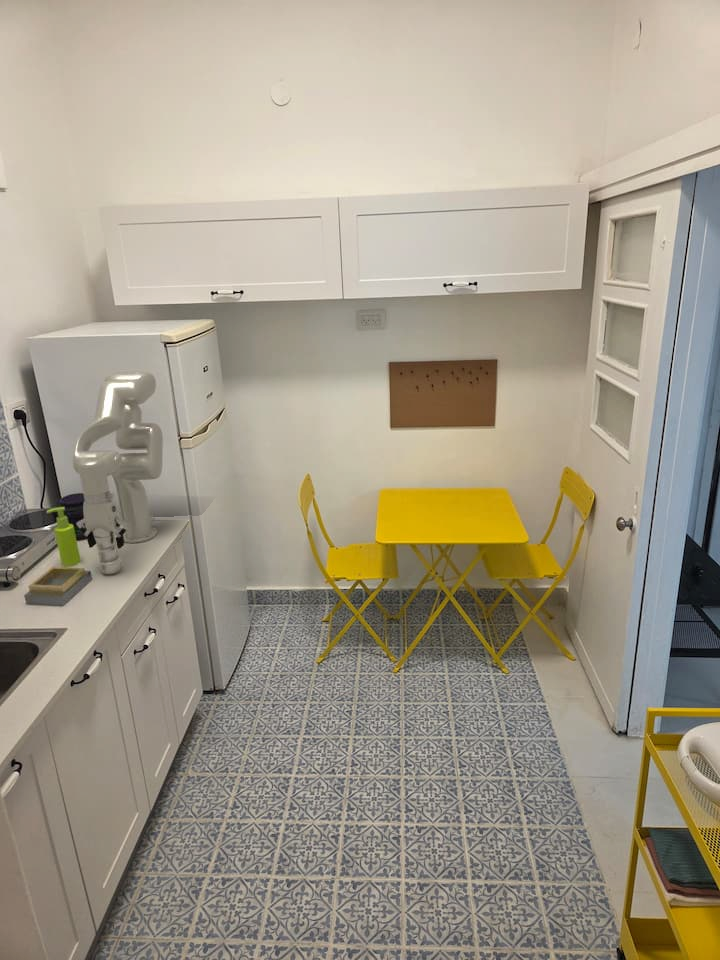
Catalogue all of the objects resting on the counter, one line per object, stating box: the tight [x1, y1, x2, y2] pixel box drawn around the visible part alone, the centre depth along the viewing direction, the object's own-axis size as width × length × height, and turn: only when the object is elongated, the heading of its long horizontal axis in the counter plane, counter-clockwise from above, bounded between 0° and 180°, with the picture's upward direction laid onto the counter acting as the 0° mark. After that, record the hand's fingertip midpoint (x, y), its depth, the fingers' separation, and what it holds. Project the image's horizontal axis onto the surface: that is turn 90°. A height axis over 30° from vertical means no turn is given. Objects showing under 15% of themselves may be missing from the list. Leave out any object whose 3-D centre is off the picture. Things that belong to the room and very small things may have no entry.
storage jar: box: [59, 492, 93, 542], centre depth 229 cm, size 10×10×15 cm
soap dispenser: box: [46, 506, 81, 568], centre depth 208 cm, size 6×7×20 cm
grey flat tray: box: [23, 566, 93, 607], centre depth 192 cm, size 16×12×5 cm
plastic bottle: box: [93, 528, 122, 575], centre depth 200 cm, size 6×7×20 cm
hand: (106, 546), depth 201 cm, fingers open, 9 cm apart
